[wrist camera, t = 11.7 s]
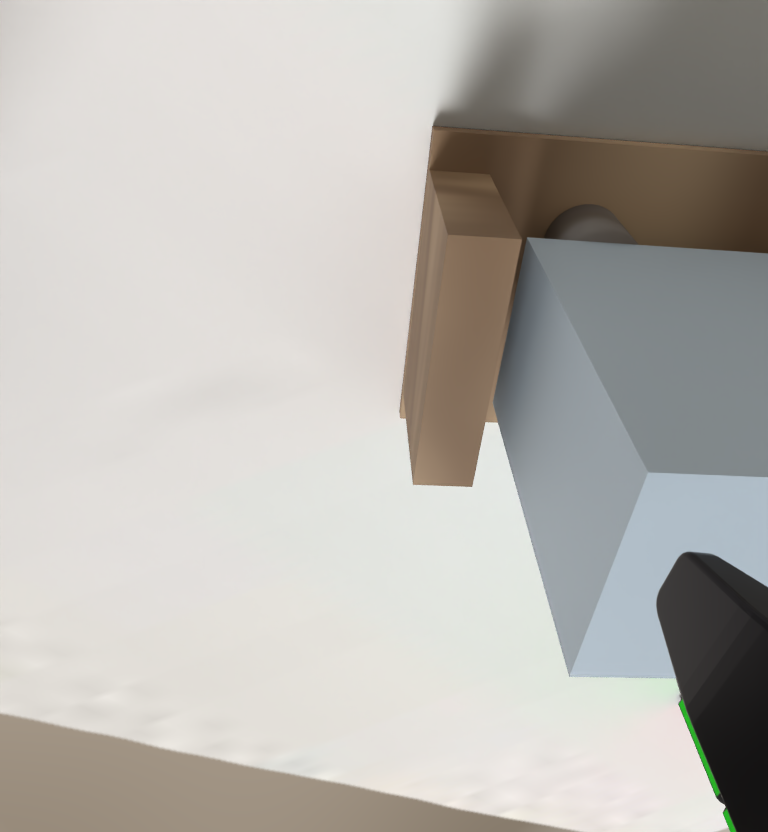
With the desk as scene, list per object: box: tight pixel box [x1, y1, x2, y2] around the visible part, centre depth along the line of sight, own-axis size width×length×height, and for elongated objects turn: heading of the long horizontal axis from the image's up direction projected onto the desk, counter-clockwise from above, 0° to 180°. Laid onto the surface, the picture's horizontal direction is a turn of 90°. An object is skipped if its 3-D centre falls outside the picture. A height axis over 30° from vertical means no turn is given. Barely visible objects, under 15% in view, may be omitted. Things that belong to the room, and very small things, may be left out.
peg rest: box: [400, 126, 768, 487], centre depth 20 cm, size 17×9×5 cm, turn 85°
